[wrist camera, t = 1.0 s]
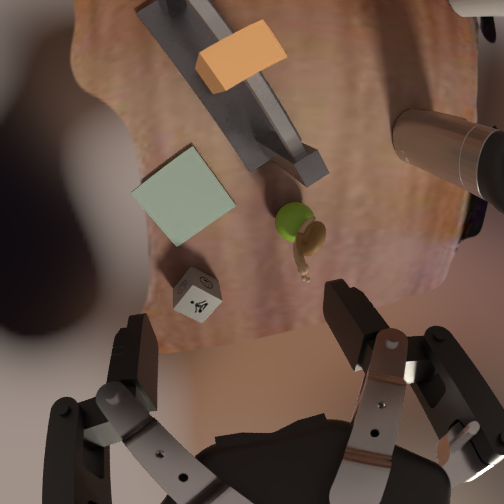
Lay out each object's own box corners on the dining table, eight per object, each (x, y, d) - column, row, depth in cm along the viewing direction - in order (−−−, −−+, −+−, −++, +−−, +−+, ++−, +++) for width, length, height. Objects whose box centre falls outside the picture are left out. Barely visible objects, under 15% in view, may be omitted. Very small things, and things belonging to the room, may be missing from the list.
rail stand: (193, -18, 24) (200, -75, 11) (299, 139, 37) (357, 164, 25) (137, 15, 25) (110, -30, 12) (248, 170, 38) (283, 212, 25)
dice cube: (199, 302, 47) (202, 323, 43) (173, 288, 45) (173, 309, 40) (218, 280, 46) (222, 300, 41) (191, 265, 43) (192, 284, 39)
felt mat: (192, 145, 35) (192, 146, 35) (235, 205, 40) (236, 206, 40) (131, 192, 36) (130, 193, 36) (177, 245, 41) (176, 247, 41)
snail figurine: (260, 229, 43) (286, 275, 33) (282, 190, 41) (316, 226, 30) (291, 242, 45) (323, 288, 35) (313, 205, 43) (353, 243, 32)
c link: (237, 43, 26) (262, 19, 17) (255, 69, 28) (287, 56, 18) (194, 68, 27) (199, 52, 17) (213, 94, 28) (226, 90, 19)
